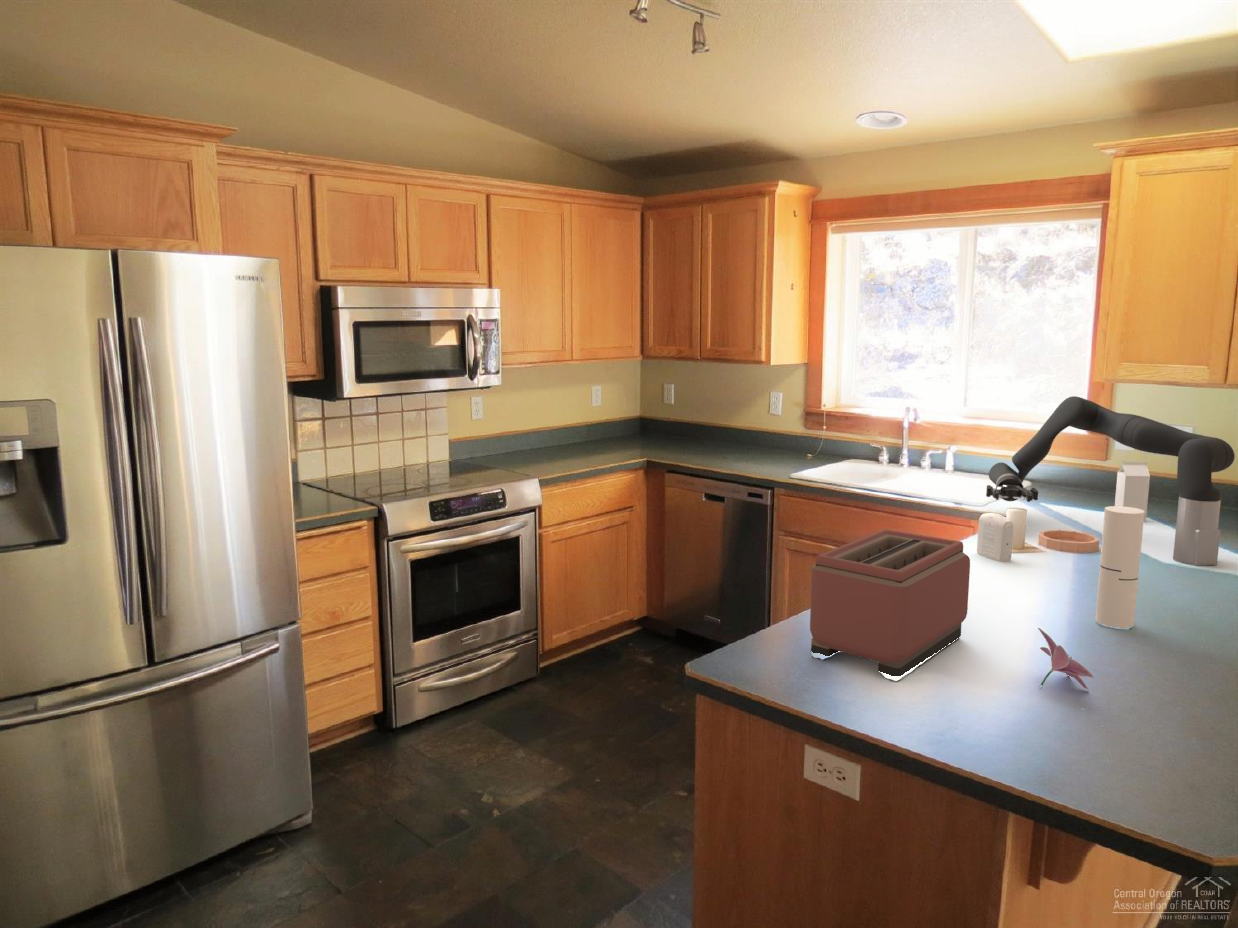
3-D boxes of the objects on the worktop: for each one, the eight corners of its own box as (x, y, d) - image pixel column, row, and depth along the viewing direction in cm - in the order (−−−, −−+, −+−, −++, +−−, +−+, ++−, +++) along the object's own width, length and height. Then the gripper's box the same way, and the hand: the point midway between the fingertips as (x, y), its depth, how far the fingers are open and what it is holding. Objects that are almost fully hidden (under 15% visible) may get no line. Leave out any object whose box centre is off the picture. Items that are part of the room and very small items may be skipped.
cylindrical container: (1098, 615, 185) (1108, 504, 181) (1136, 622, 181) (1146, 509, 177) (1092, 624, 180) (1101, 510, 176) (1130, 632, 175) (1141, 515, 171)
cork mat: (1046, 553, 236) (1046, 551, 236) (1005, 554, 235) (1005, 553, 235) (1022, 542, 248) (1023, 541, 248) (983, 543, 247) (983, 542, 247)
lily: (1090, 713, 142) (1115, 663, 142) (1020, 678, 145) (1045, 628, 145) (1071, 705, 153) (1095, 658, 153) (1007, 672, 157) (1030, 626, 157)
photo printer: (1013, 562, 227) (1016, 517, 225) (1000, 563, 226) (1003, 518, 224) (986, 552, 237) (989, 509, 235) (974, 553, 236) (976, 510, 234)
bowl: (1110, 552, 236) (1110, 542, 235) (1058, 554, 234) (1058, 543, 234) (1076, 539, 251) (1077, 529, 250) (1027, 540, 249) (1028, 530, 249)
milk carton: (1145, 521, 271) (1151, 463, 268) (1121, 521, 272) (1126, 463, 269) (1137, 517, 278) (1142, 460, 275) (1113, 516, 279) (1118, 459, 276)
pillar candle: (1028, 549, 239) (1030, 511, 237) (1010, 549, 239) (1012, 511, 237) (1018, 544, 244) (1020, 507, 242) (1000, 545, 244) (1003, 507, 242)
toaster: (974, 632, 177) (980, 537, 173) (898, 686, 151) (903, 575, 147) (887, 612, 190) (891, 522, 186) (804, 658, 164) (806, 556, 160)
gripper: (985, 473, 267) (988, 483, 252) (1035, 476, 262) (1041, 486, 247) (983, 496, 268) (986, 508, 253) (1033, 500, 263) (1038, 511, 248)
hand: (1013, 497), depth 250 cm, fingers open, 8 cm apart
